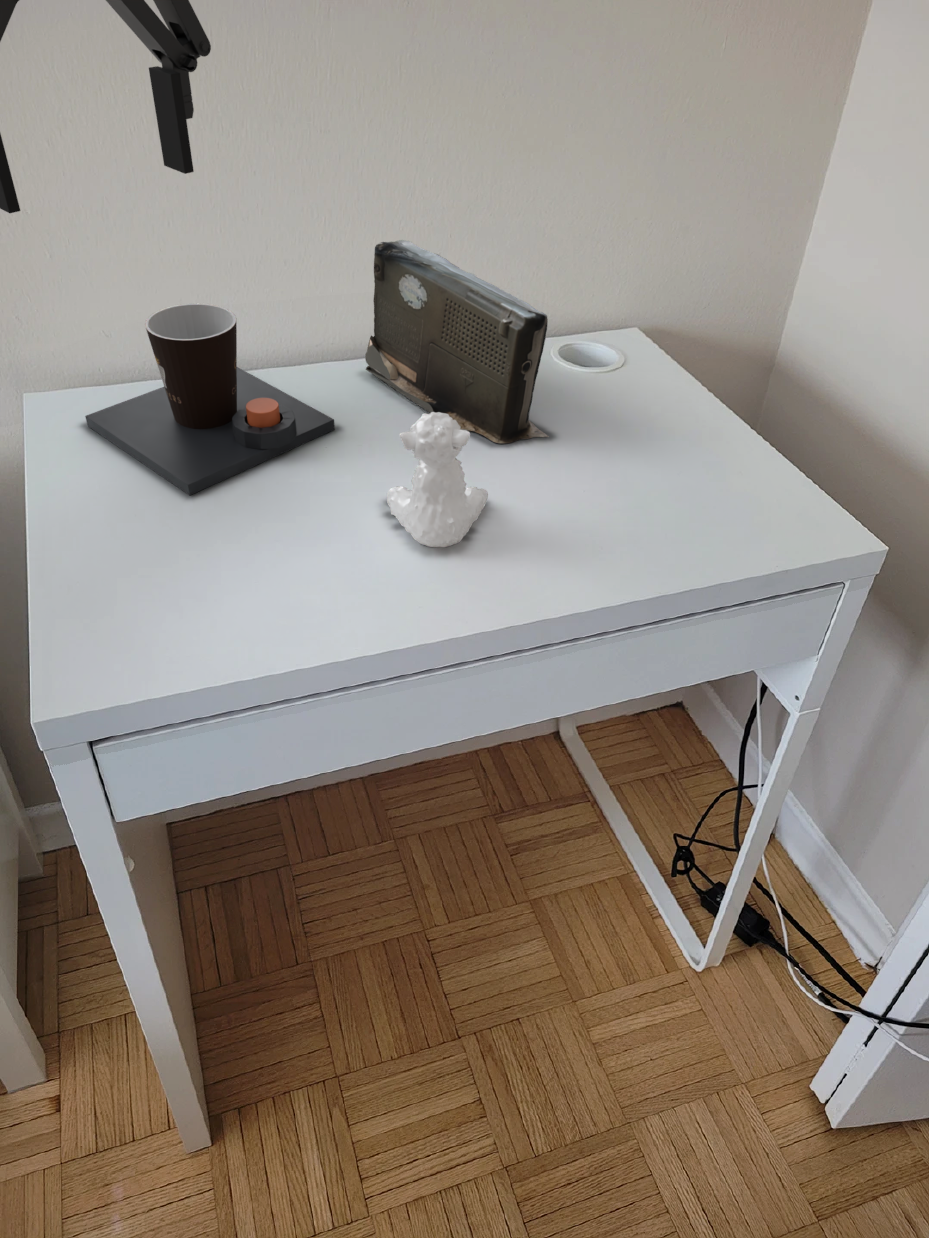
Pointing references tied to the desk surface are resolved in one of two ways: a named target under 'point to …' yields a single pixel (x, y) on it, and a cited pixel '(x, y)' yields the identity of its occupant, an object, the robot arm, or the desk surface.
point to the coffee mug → (197, 362)
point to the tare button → (263, 412)
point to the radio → (455, 342)
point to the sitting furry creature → (436, 484)
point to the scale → (207, 435)
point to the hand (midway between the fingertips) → (97, 187)
